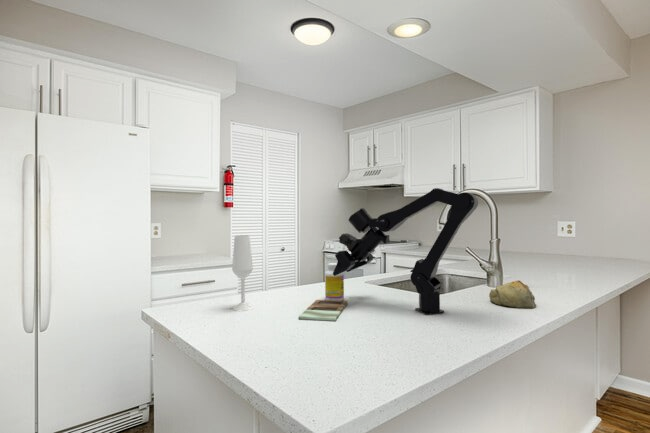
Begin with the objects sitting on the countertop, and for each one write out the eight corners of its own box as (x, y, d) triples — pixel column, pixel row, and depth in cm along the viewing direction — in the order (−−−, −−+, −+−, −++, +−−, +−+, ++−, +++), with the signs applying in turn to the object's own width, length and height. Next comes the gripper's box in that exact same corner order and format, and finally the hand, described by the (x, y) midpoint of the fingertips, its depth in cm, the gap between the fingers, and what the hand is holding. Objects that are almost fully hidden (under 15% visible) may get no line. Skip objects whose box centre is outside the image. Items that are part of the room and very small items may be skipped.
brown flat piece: (316, 302, 129) (316, 299, 129) (347, 303, 126) (347, 300, 126) (298, 319, 108) (298, 316, 108) (335, 321, 105) (335, 318, 105)
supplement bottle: (344, 301, 128) (343, 265, 128) (325, 302, 129) (324, 265, 129) (343, 297, 135) (343, 262, 135) (325, 297, 135) (325, 262, 135)
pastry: (545, 307, 118) (545, 282, 118) (516, 311, 113) (516, 285, 113) (508, 298, 131) (508, 275, 131) (481, 301, 127) (481, 278, 126)
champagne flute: (228, 310, 119) (227, 236, 119) (238, 305, 126) (237, 234, 126) (248, 311, 118) (246, 236, 118) (256, 305, 124) (255, 234, 124)
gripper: (365, 224, 135) (339, 253, 141) (340, 226, 120) (312, 258, 125) (385, 247, 131) (357, 275, 137) (362, 252, 116) (332, 284, 121)
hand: (340, 272), depth 131 cm, fingers open, 9 cm apart
